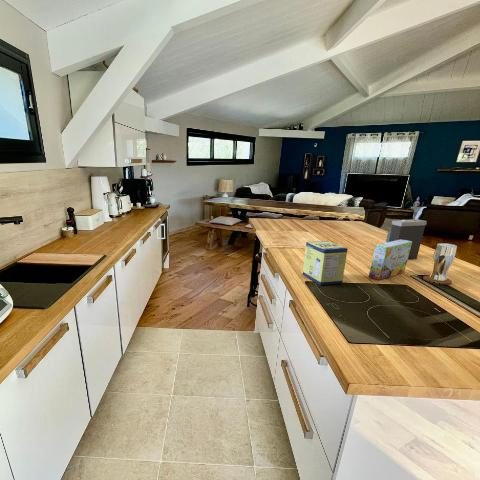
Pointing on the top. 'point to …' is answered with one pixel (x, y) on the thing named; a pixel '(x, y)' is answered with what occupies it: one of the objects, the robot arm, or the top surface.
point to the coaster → (437, 281)
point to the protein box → (324, 262)
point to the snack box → (390, 259)
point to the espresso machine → (408, 234)
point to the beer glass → (442, 261)
